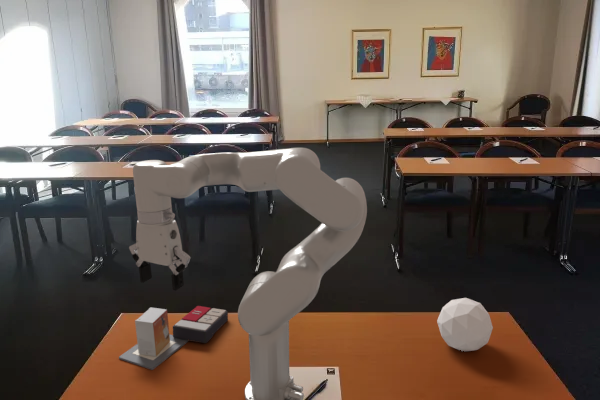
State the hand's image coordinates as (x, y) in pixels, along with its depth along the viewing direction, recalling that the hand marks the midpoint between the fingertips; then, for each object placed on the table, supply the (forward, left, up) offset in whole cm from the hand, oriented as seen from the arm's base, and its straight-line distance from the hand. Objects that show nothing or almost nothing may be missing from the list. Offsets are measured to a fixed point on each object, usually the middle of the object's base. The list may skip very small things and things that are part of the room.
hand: (162, 284), depth 113 cm
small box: (+15, -10, -28) cm, 33 cm away
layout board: (+15, -10, -28) cm, 34 cm away
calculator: (+9, -25, -28) cm, 39 cm away
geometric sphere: (-64, -49, -28) cm, 85 cm away
